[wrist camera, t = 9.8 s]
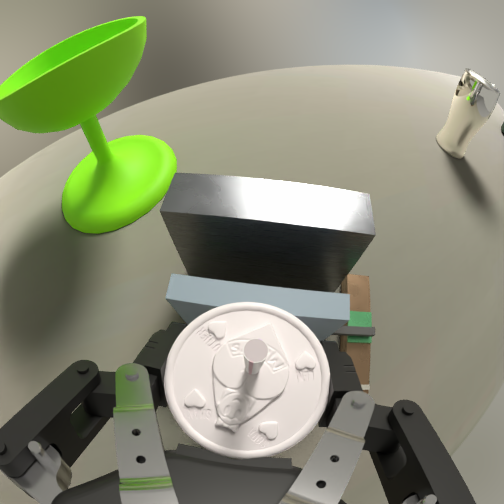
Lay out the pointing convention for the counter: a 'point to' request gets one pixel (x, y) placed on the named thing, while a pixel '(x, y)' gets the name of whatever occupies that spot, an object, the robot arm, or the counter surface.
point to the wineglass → (92, 123)
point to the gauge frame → (276, 240)
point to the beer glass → (467, 113)
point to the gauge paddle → (291, 300)
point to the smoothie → (247, 380)
